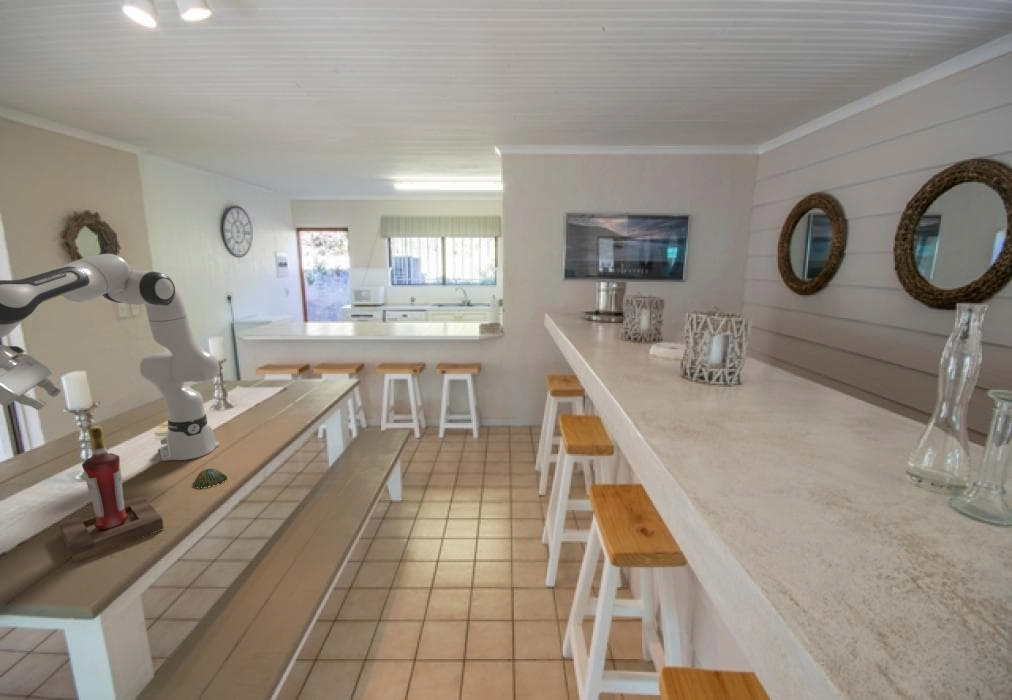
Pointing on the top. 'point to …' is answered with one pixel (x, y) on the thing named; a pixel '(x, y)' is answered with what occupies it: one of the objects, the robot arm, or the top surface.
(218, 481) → the seashell
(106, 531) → the plinth
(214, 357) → the robot arm
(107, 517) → the liquor
